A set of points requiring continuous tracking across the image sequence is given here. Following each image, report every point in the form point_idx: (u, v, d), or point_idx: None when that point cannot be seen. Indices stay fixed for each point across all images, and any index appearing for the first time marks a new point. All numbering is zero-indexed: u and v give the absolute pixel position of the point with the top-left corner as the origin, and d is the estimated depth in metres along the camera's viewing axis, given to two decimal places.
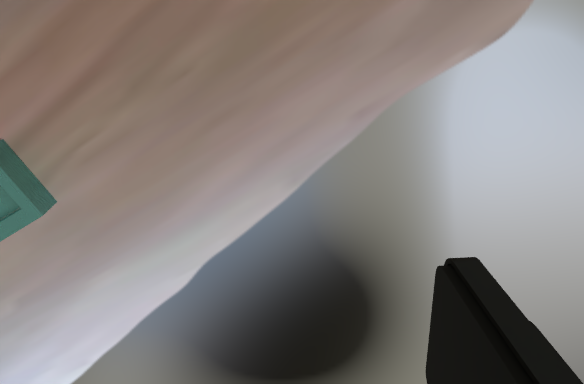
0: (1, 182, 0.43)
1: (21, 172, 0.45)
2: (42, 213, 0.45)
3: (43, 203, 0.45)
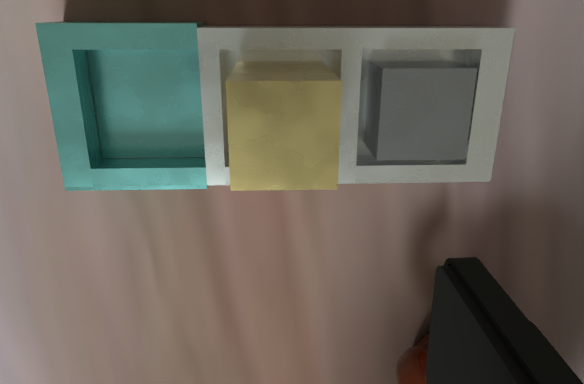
0: (147, 173, 0.25)
1: None
2: (69, 189, 0.26)
3: None
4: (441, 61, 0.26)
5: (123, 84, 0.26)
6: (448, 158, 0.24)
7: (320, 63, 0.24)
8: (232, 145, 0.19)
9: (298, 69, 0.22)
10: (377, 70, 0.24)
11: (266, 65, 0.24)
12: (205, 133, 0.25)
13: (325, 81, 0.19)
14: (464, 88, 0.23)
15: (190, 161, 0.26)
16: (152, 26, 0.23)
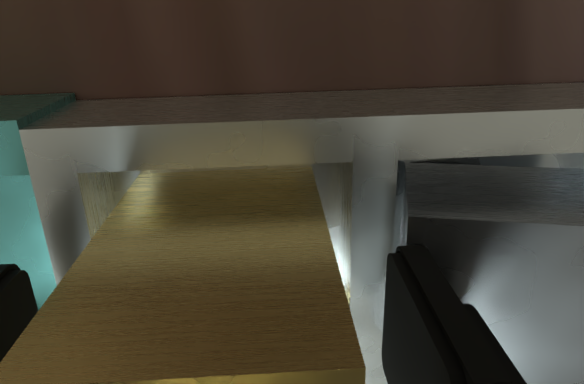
0: None
1: None
2: None
3: None
4: (566, 171, 0.12)
5: None
6: None
7: (307, 182, 0.12)
8: None
9: (250, 233, 0.09)
10: (406, 204, 0.11)
11: (187, 201, 0.11)
12: None
13: (312, 370, 0.06)
14: None
15: None
16: None
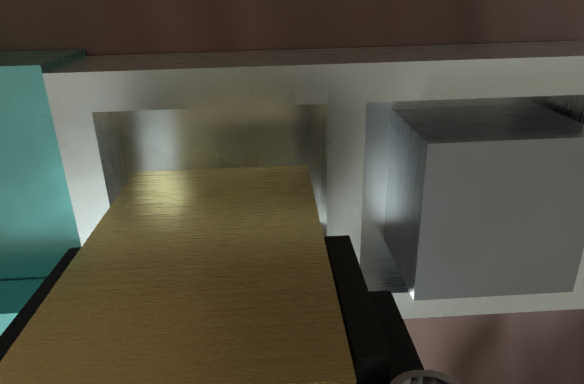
0: None
1: None
2: None
3: None
4: (520, 106, 0.14)
5: None
6: (543, 291, 0.13)
7: (302, 182, 0.12)
8: None
9: (245, 236, 0.09)
10: (413, 138, 0.13)
11: (181, 201, 0.11)
12: None
13: (303, 382, 0.06)
14: (583, 173, 0.12)
15: None
16: None
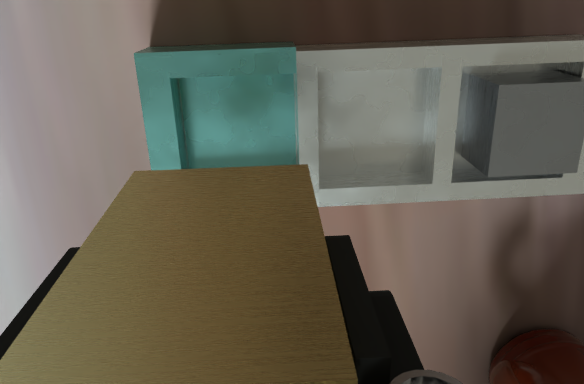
0: None
1: None
2: None
3: None
4: (544, 72, 0.25)
5: (212, 108, 0.25)
6: (560, 172, 0.24)
7: (302, 181, 0.11)
8: None
9: (245, 235, 0.09)
10: (487, 85, 0.23)
11: (181, 200, 0.11)
12: (300, 156, 0.24)
13: (304, 381, 0.06)
14: (580, 101, 0.22)
15: None
16: (251, 51, 0.22)
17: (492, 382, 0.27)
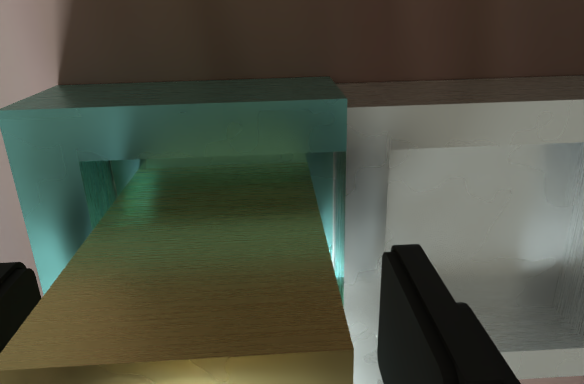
0: None
1: None
2: None
3: None
4: None
5: None
6: None
7: (302, 176, 0.12)
8: None
9: (246, 225, 0.09)
10: None
11: (185, 195, 0.11)
12: (347, 304, 0.12)
13: (303, 352, 0.06)
14: None
15: None
16: (252, 108, 0.10)
17: None
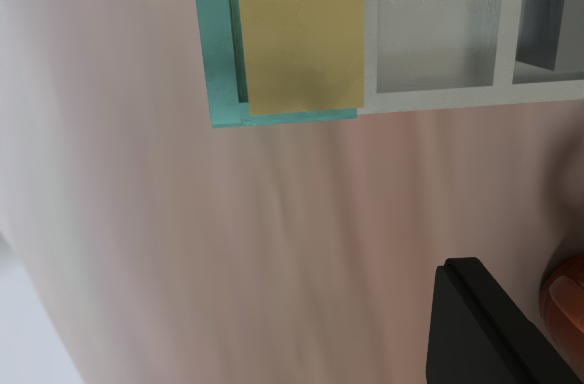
0: None
1: None
2: None
3: None
4: None
5: None
6: None
7: None
8: (249, 64, 0.18)
9: None
10: None
11: None
12: None
13: None
14: None
15: None
16: None
17: (554, 294, 0.27)
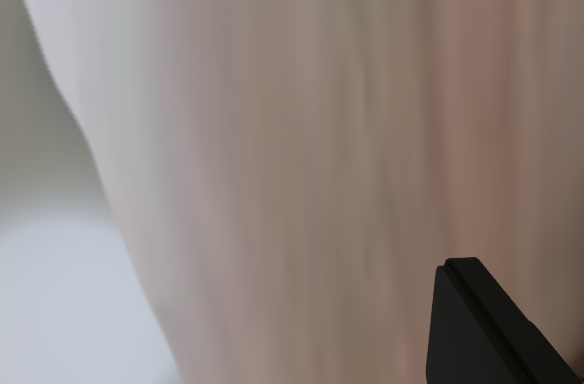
0: None
1: None
2: None
3: None
4: None
5: None
6: None
7: None
8: None
9: None
10: None
11: None
12: None
13: None
14: None
15: None
16: None
17: None
